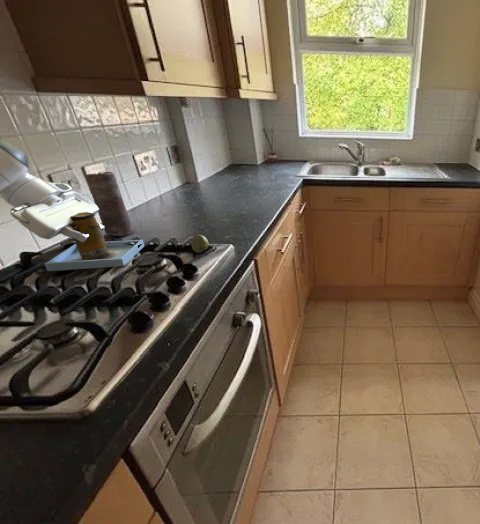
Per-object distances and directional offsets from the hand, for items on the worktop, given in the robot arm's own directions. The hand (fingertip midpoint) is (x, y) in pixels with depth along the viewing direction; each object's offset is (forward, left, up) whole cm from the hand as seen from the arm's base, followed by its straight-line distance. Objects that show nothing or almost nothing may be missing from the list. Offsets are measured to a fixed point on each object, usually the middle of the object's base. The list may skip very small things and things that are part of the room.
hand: (94, 234), depth 89 cm
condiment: (-1, 0, -7) cm, 7 cm away
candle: (-4, +20, -7) cm, 22 cm away
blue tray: (-1, 0, -7) cm, 7 cm away
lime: (+25, 0, -7) cm, 26 cm away
